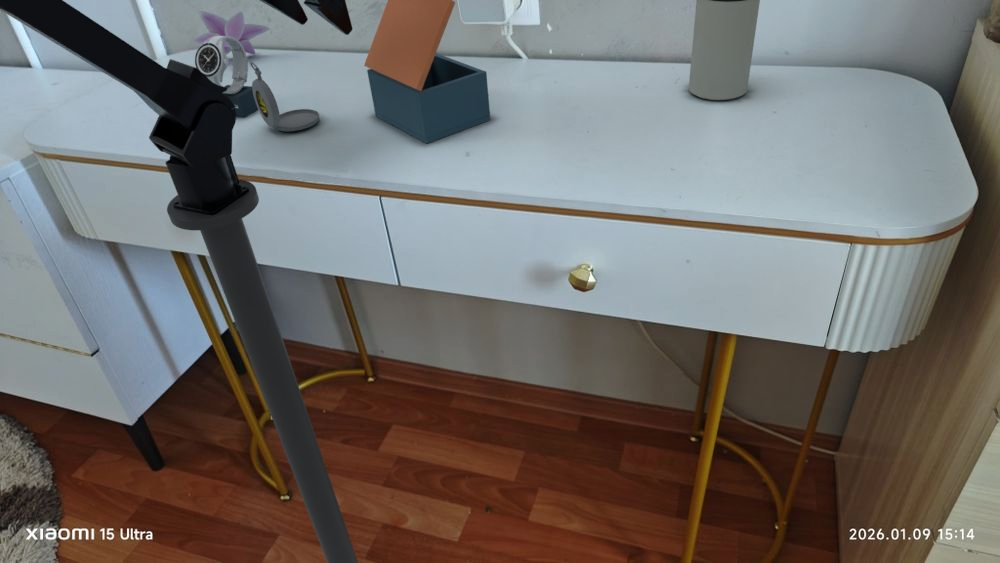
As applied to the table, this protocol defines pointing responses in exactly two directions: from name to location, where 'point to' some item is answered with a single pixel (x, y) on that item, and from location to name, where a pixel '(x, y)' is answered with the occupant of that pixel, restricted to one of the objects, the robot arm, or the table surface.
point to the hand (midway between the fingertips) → (326, 27)
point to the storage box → (433, 100)
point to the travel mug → (722, 48)
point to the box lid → (409, 39)
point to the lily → (230, 30)
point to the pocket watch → (271, 113)
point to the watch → (215, 63)
